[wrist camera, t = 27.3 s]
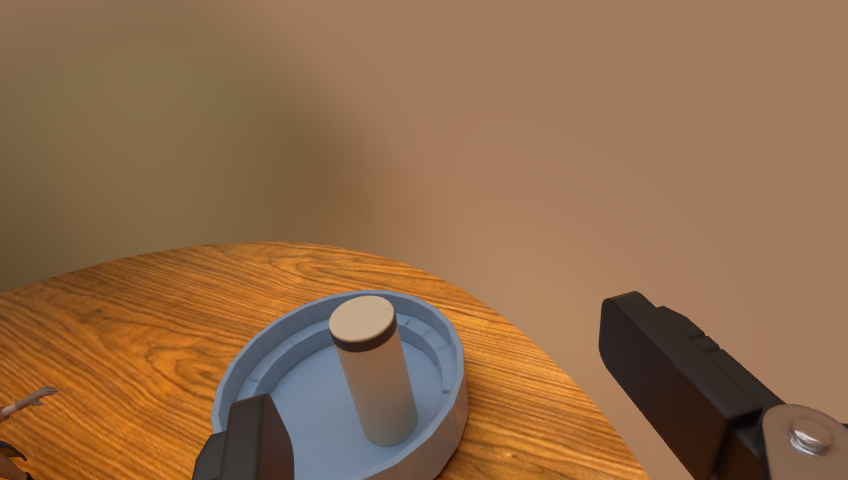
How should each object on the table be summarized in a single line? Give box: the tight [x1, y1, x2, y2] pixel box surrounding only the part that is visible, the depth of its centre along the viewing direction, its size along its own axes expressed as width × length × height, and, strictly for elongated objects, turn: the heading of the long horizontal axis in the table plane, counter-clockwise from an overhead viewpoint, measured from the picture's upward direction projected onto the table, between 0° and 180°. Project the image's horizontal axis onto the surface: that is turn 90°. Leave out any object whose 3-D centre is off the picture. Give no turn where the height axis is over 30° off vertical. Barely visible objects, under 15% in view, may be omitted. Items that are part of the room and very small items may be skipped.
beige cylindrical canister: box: [329, 296, 418, 446], centre depth 37 cm, size 5×5×12 cm
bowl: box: [211, 290, 469, 480], centre depth 41 cm, size 21×21×6 cm
